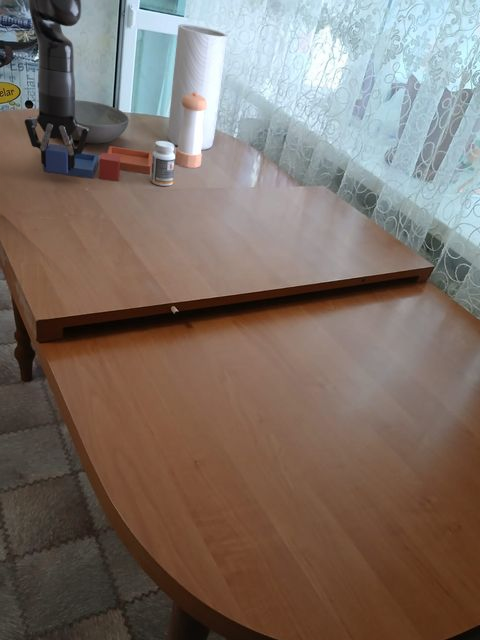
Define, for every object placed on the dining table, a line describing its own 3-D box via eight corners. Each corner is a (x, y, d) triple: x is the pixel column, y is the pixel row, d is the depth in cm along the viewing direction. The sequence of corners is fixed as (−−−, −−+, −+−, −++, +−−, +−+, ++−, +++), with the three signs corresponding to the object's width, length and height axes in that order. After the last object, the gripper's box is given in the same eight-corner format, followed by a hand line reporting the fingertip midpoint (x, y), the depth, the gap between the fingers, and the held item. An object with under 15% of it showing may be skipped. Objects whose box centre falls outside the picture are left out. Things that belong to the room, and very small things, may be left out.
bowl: (103, 126, 168) (103, 99, 163) (141, 150, 158) (143, 122, 153) (36, 129, 154) (35, 100, 150) (73, 155, 144) (73, 124, 139)
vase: (210, 154, 167) (226, 39, 148) (163, 145, 165) (173, 27, 147) (214, 141, 178) (229, 32, 160) (170, 132, 177) (181, 21, 158)
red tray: (104, 167, 141) (104, 159, 140) (109, 153, 151) (109, 145, 149) (150, 174, 144) (150, 166, 143) (151, 159, 153) (152, 152, 152)
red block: (99, 178, 135) (99, 158, 132) (101, 172, 139) (101, 152, 136) (118, 181, 136) (118, 161, 133) (119, 174, 140) (120, 155, 137)
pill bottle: (177, 184, 142) (181, 146, 136) (162, 188, 138) (166, 149, 132) (160, 176, 144) (164, 138, 138) (145, 180, 140) (148, 141, 134)
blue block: (46, 171, 126) (45, 149, 123) (49, 164, 129) (49, 143, 127) (67, 174, 127) (66, 152, 124) (70, 167, 130) (70, 146, 128)
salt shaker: (195, 170, 153) (204, 98, 142) (171, 163, 154) (178, 90, 143) (203, 163, 159) (212, 93, 148) (180, 156, 160) (187, 86, 149)
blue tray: (43, 171, 132) (42, 163, 131) (51, 155, 141) (51, 147, 140) (93, 178, 134) (93, 170, 133) (98, 162, 143) (98, 154, 142)
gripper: (93, 92, 123) (91, 167, 132) (25, 80, 120) (29, 158, 129) (88, 100, 117) (87, 178, 126) (17, 87, 114) (22, 168, 123)
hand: (58, 167), depth 128 cm, fingers closed on blue block, 4 cm apart
